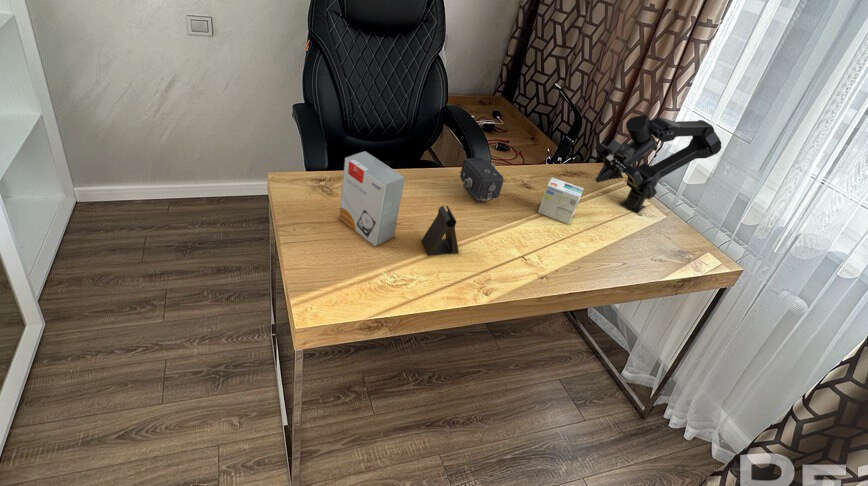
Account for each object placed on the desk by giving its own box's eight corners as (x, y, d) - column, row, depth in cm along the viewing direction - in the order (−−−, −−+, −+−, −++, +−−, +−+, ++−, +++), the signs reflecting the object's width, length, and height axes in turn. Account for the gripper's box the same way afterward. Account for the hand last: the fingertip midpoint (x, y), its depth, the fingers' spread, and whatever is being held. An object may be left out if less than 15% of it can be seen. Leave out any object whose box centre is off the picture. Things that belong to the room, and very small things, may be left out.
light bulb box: (573, 215, 166) (584, 187, 160) (569, 225, 161) (581, 197, 155) (541, 203, 169) (551, 175, 163) (536, 213, 164) (547, 184, 157)
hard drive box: (337, 218, 143) (343, 156, 132) (358, 210, 148) (365, 149, 137) (375, 247, 136) (384, 184, 124) (395, 237, 141) (406, 175, 130)
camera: (499, 207, 164) (478, 179, 174) (511, 180, 157) (488, 151, 167) (471, 211, 160) (450, 181, 170) (481, 182, 153) (460, 153, 162)
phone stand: (427, 255, 137) (435, 219, 130) (421, 241, 141) (428, 205, 135) (458, 253, 140) (468, 218, 133) (451, 239, 144) (460, 205, 137)
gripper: (610, 120, 162) (570, 151, 164) (651, 148, 148) (607, 183, 150) (619, 141, 169) (581, 171, 171) (659, 170, 156) (617, 202, 158)
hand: (596, 181), depth 163 cm, fingers closed
